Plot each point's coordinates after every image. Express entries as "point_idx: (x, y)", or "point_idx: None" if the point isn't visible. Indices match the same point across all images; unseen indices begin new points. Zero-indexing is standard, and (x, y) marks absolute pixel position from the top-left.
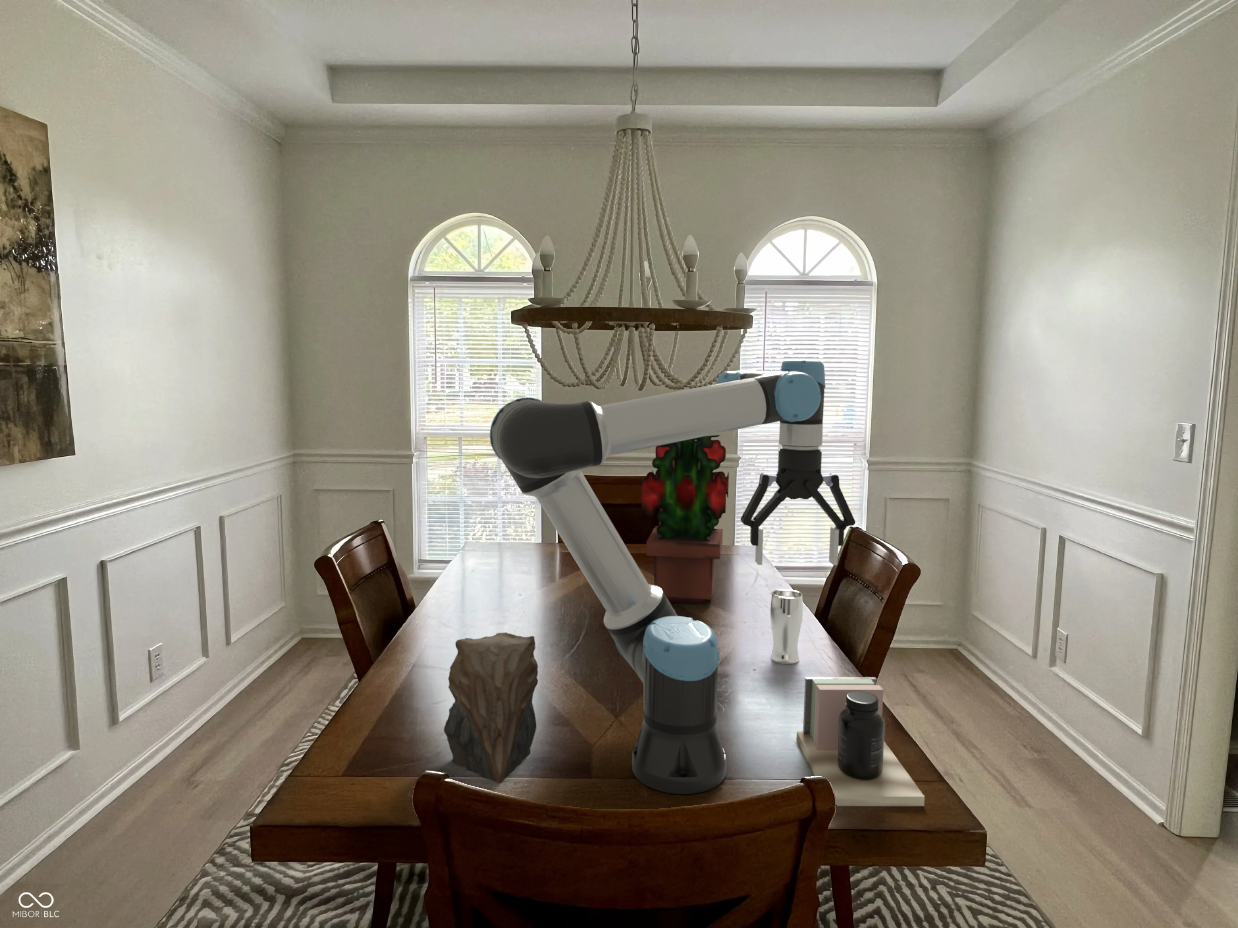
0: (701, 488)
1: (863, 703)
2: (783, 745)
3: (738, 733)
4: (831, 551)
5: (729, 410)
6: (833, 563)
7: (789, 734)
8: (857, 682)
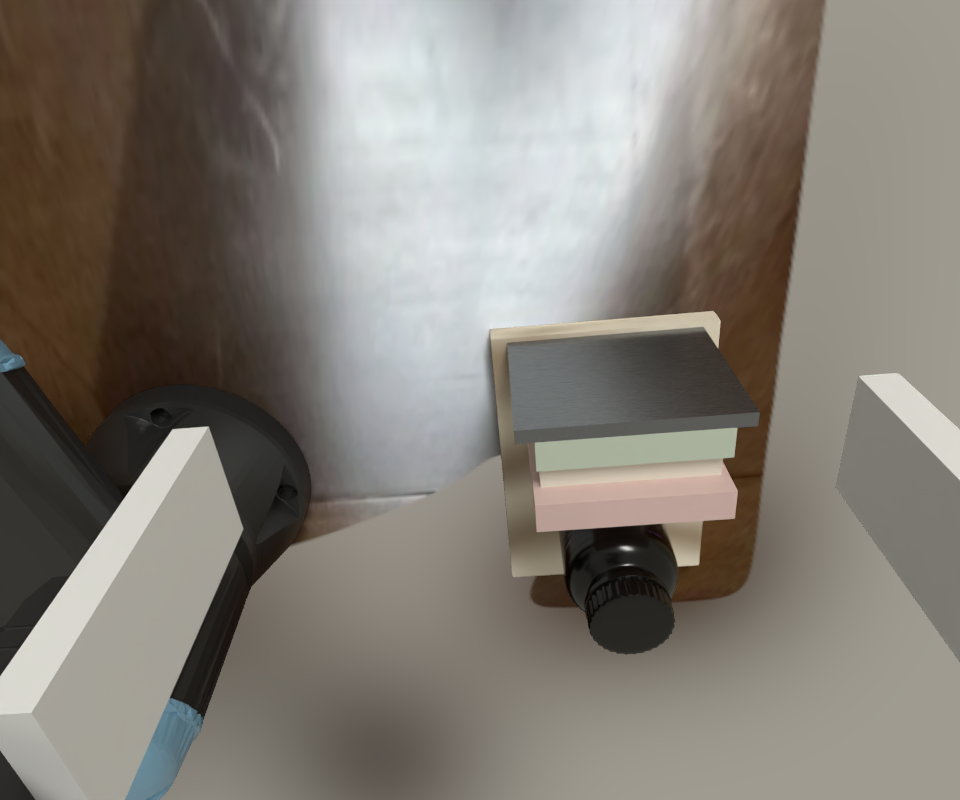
0: None
1: (621, 653)
2: (451, 360)
3: (332, 309)
4: (902, 495)
5: None
6: (842, 494)
7: (475, 302)
8: (680, 454)
